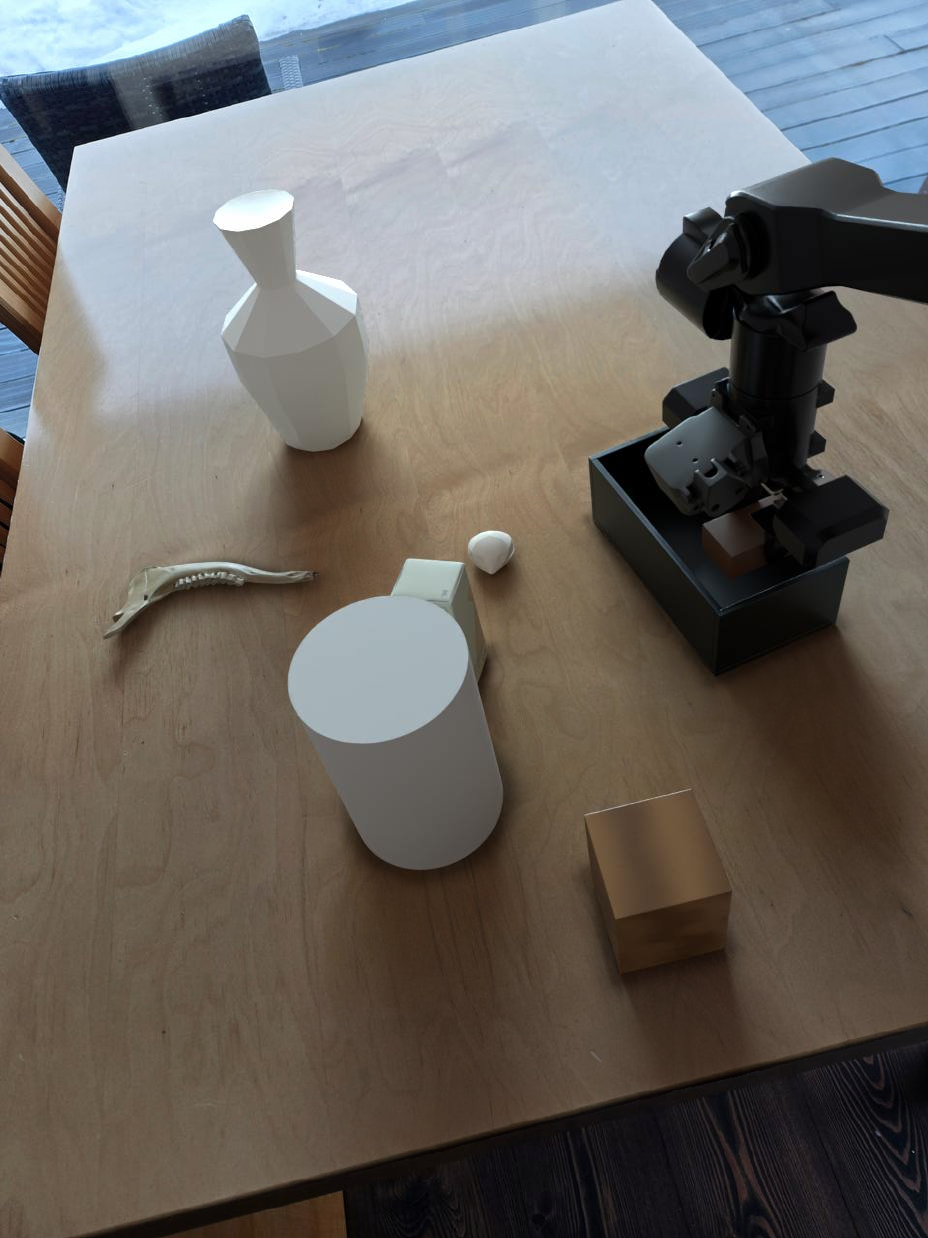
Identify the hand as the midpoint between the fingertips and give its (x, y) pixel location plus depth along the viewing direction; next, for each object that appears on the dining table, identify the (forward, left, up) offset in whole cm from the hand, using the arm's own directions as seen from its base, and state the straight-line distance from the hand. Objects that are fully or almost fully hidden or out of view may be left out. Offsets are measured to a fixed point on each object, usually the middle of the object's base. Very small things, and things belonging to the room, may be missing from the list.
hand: (756, 544), depth 71 cm
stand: (-1, +27, -9) cm, 28 cm away
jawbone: (+46, +15, -9) cm, 49 cm away
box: (+21, +13, -9) cm, 27 cm away
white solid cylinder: (+17, +25, -9) cm, 32 cm away
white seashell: (+23, +1, -9) cm, 25 cm away
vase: (+50, -12, -9) cm, 52 cm away
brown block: (0, 0, 0) cm, 0 cm away
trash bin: (+5, -4, -9) cm, 11 cm away
